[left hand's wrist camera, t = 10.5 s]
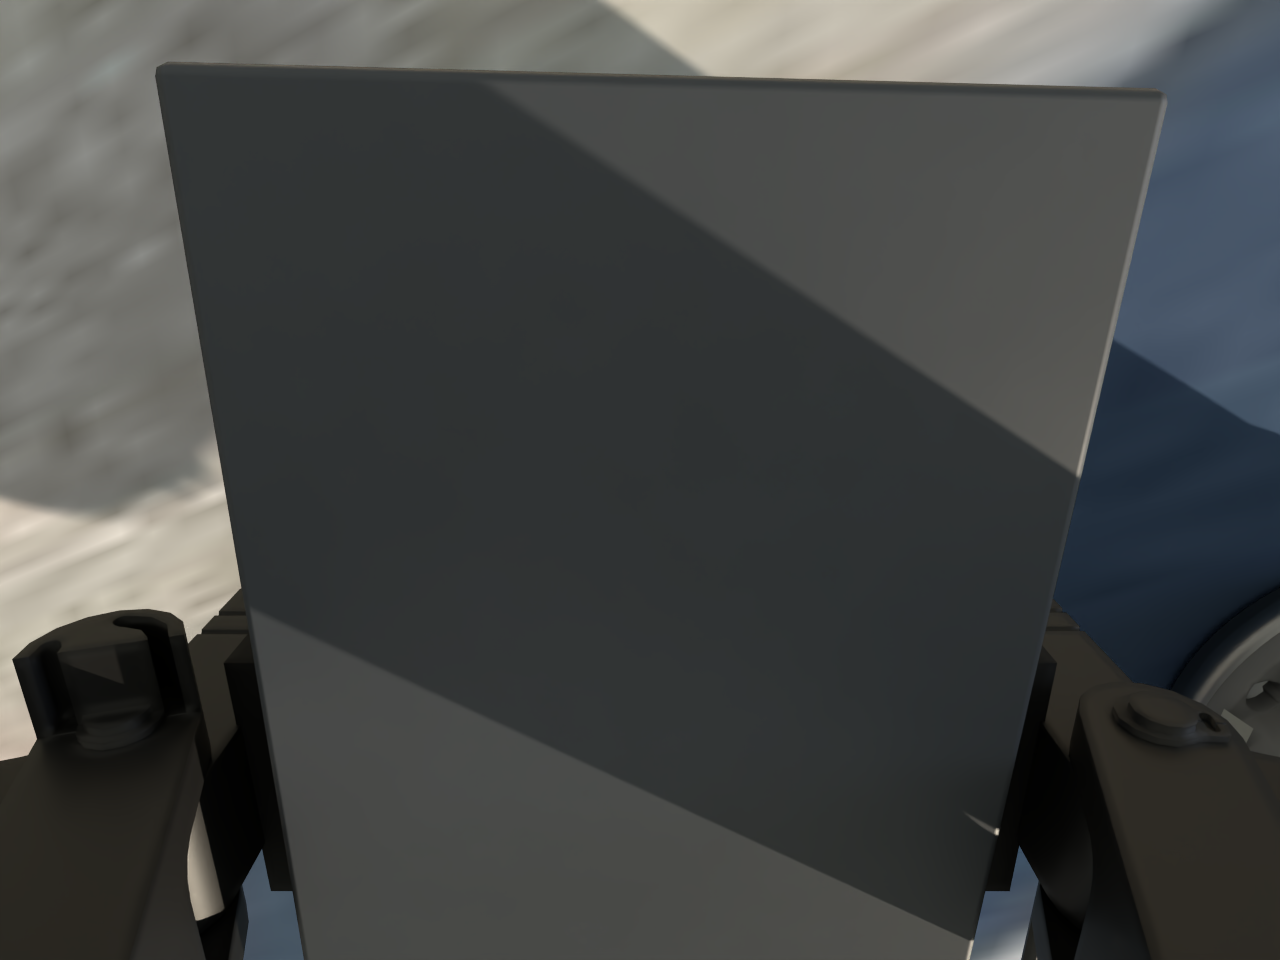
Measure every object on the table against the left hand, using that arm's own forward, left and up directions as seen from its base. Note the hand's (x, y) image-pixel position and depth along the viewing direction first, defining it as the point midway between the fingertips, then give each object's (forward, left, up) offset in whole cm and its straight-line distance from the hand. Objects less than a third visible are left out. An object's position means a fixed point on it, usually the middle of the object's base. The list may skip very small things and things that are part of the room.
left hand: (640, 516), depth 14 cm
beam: (+9, +26, 0) cm, 27 cm away
